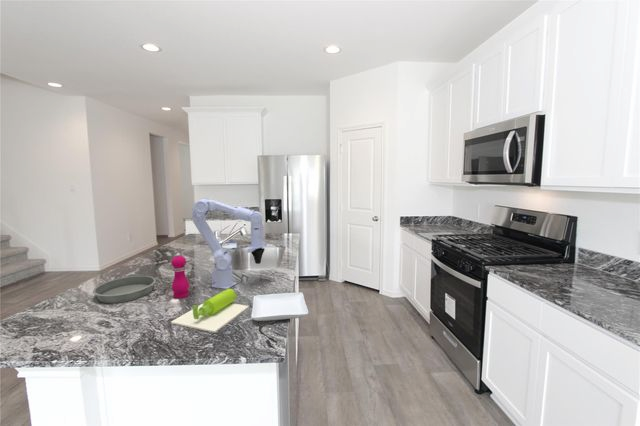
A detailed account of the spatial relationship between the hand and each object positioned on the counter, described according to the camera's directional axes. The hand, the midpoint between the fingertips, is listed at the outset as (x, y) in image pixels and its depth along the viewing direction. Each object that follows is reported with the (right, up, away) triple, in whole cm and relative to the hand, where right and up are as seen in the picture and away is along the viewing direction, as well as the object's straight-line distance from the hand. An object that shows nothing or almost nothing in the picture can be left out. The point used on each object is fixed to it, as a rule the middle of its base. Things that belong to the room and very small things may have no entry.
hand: (258, 263), depth 150 cm
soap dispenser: (-7, -9, -21) cm, 24 cm away
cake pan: (-59, -13, -9) cm, 62 cm away
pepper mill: (-32, -13, -13) cm, 37 cm away
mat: (-12, -15, -32) cm, 37 cm away
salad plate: (+14, -15, -28) cm, 35 cm away
